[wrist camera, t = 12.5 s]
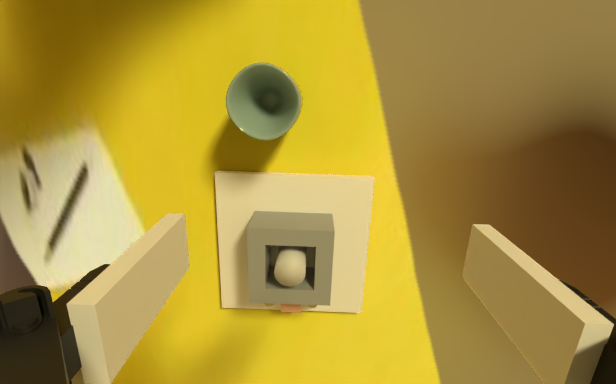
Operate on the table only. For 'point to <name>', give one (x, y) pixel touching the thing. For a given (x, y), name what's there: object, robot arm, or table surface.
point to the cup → (264, 101)
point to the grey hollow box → (290, 232)
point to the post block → (294, 259)
